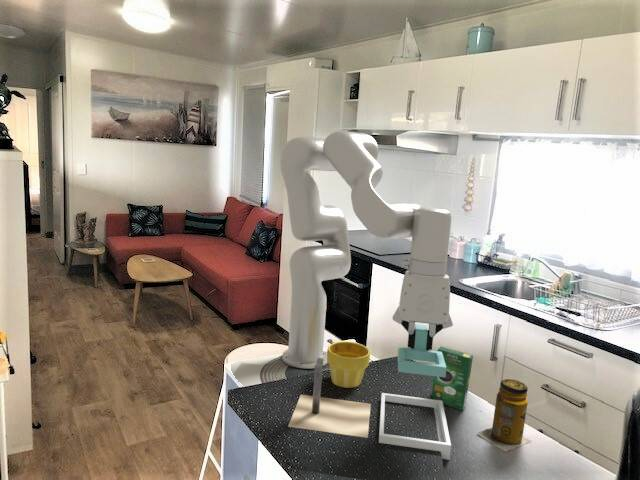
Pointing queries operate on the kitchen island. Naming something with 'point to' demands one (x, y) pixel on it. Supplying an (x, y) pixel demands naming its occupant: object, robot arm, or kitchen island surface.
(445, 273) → the robot arm
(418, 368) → the teal frame with handle
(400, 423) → the kitchen island surface
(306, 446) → the kitchen island surface
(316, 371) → the stake
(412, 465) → the kitchen island surface
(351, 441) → the kitchen island surface
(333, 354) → the plant pot
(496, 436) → the condiment
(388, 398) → the white rectangular frame
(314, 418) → the board
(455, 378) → the coffee box
